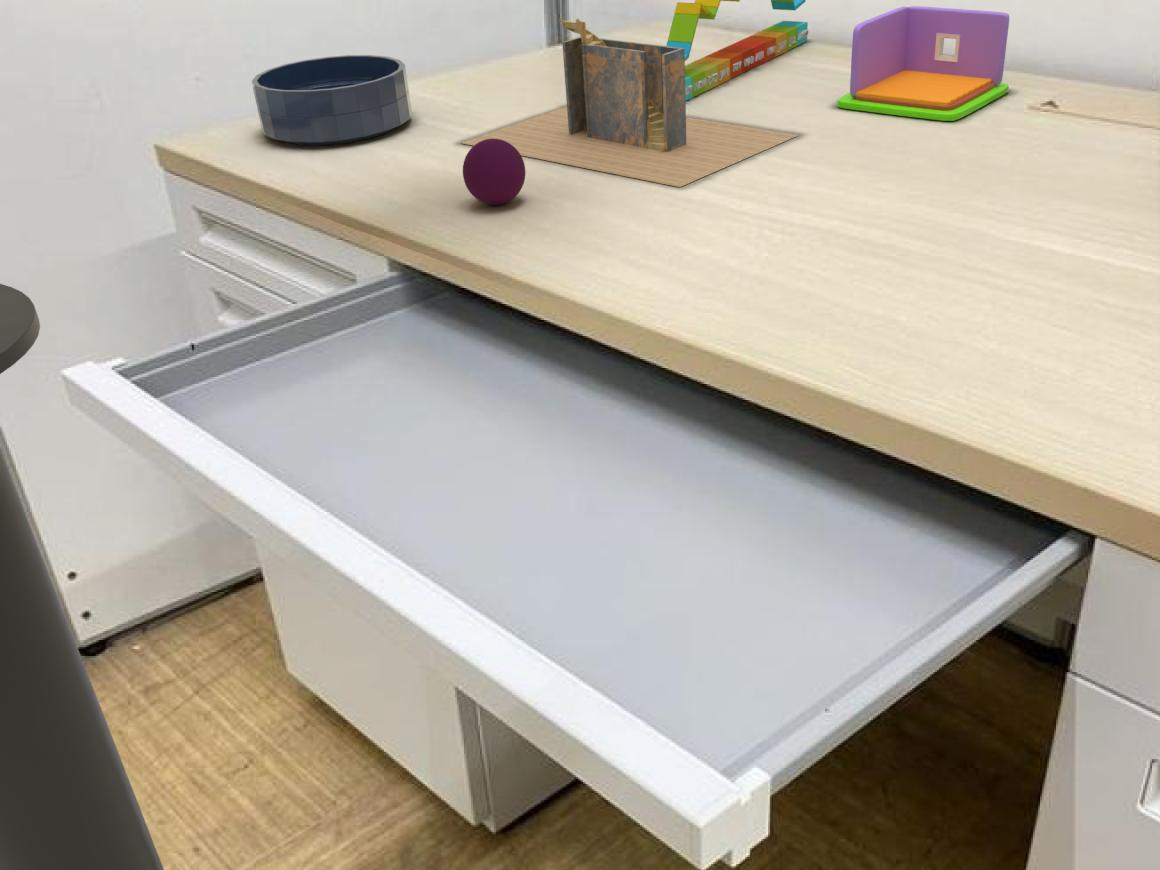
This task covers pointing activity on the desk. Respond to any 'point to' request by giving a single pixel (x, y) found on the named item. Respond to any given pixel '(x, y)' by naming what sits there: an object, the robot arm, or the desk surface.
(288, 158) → the desk surface
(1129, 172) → the desk surface
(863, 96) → the dollhouse room
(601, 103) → the architectural model on board
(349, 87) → the bowl
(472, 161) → the plum
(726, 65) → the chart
